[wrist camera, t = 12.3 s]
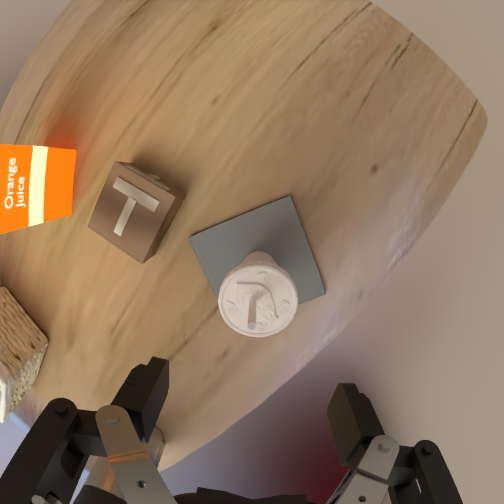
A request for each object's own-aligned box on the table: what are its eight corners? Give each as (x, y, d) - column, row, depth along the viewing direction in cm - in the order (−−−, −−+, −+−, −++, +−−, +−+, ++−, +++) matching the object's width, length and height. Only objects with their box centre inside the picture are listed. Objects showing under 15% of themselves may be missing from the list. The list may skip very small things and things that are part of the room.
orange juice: (77, 149, 28) (-48, 143, 9) (72, 215, 31) (-49, 252, 11) (40, 151, 28) (-70, 152, 9) (36, 211, 31) (-71, 241, 11)
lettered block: (155, 254, 32) (141, 264, 27) (104, 221, 31) (86, 226, 27) (187, 193, 30) (175, 195, 26) (132, 161, 29) (115, 159, 25)
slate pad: (324, 291, 32) (326, 293, 31) (232, 325, 33) (231, 327, 33) (289, 195, 29) (290, 195, 29) (189, 236, 31) (188, 237, 30)
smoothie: (260, 226, 30) (260, 263, 16) (299, 268, 31) (326, 332, 17) (218, 265, 31) (187, 327, 17) (257, 304, 32) (255, 383, 18)
